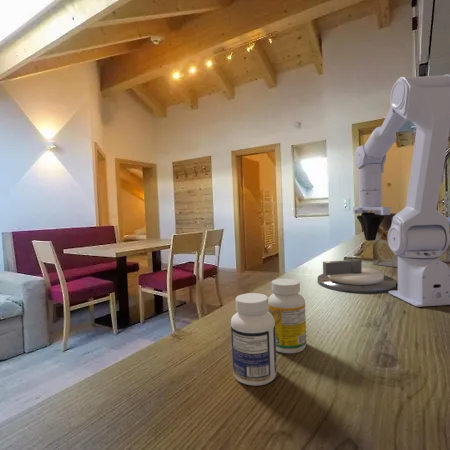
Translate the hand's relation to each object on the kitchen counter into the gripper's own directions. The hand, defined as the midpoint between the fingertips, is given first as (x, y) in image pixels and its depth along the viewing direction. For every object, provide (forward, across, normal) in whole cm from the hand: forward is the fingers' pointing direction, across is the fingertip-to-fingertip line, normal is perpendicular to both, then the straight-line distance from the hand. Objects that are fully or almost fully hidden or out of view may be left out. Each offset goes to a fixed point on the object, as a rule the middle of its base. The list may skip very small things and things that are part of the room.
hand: (370, 240), depth 86 cm
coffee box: (+10, -9, +12) cm, 18 cm away
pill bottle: (+10, +44, -42) cm, 62 cm away
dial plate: (+9, +8, -9) cm, 15 cm away
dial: (+8, +8, -10) cm, 15 cm away
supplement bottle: (+10, +37, -36) cm, 53 cm away
